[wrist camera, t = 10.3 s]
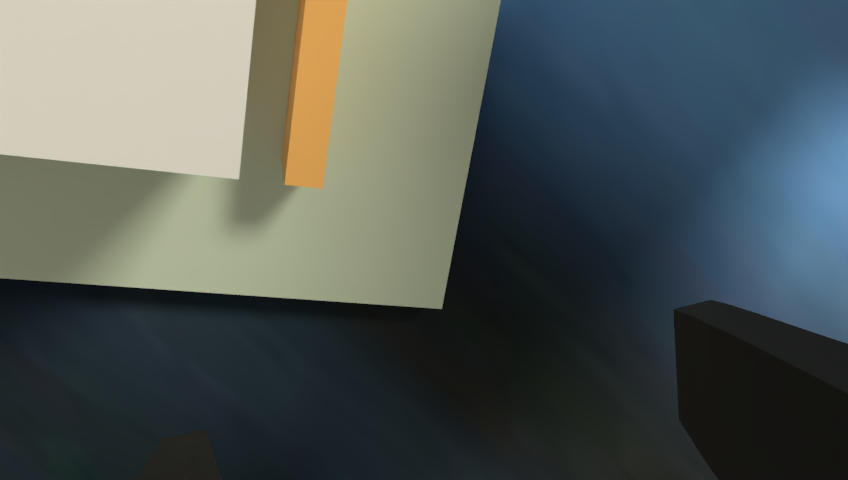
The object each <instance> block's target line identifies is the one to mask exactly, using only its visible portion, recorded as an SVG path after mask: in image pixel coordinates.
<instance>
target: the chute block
mask: <svg viewBox="0 0 848 480" xmlns="http://www.w3.org/2000/svg"><path fill="white" fill-rule="evenodd" d="M255 7H256V0H0V154H2V155H12V156H21V157H31V158H40V159H50V160H59V161H69V162H78V163H88V164H97V165H107V166H116V167H126V168H135V169H145V170H154V171H164V172H173V173H183V174H192V175H202V176H211V177H221V178H230V179H239V173H240V163H241V152H242V142H243V132H244V121H245V111H246V100H247V90H248V80H249V69H250V59H251V48H252V38H253V27H254V17H255Z"/></svg>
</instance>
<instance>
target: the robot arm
mask: <svg viewBox="0 0 848 480" xmlns="http://www.w3.org/2000/svg"><path fill="white" fill-rule="evenodd" d="M674 327H675V347H676V368H677V388H678V409H679V420H680V422H681V423H682V425H683V426H684V428H685V430H686V431H687V433H688V435H689V436H690V438H691V439H692V441H693V443H694V444H695V446H696V448H697V449H698V451H699V452H700V454H701V455H702V457H703V458H704V460H705V461H706V463H707V464H708V466H709V467H710V469H711V470H712V472H713V473H714V474H715V475H716V477H717V478H718V479H719V480H848V344H847V343H844V342H840V341H837V340H834V339H831V338H828V337H825V336H822V335H819V334H816V333H813V332H810V331H807V330H804V329H801V328H798V327H795V326H792V325H789V324H786V323H783V322H781V321H778V320H775V319H772V318H769V317H766V316H763V315H760V314H757V313H754V312H751V311H748V310H745V309H742V308H738V307H735V306H732V305H728V304H725V303H721V302H717V301H713V300H709V301H705V302H701V303H697V304H693V305H689V306H685V307H681V308H677V309H674ZM135 480H222V478H221V475H220V472H219V469H218V466H217V463H216V460H215V457H214V454H213V451H212V448H211V444H210V441H209V438H208V435H207V432H206V429H201V430H197V431H193V432H189V433H186V434H182V435H178V436H174V437H170V438H166V439H162V441H161V442H160V444H159V445H158V447H157V448H156V449H155V451H154V452H153V454H152V455H151V457H150V458H149V460H148V461H147V463H146V464H145V466H144V467H143V469H142V470H141V472H140V473H139V475H138V476H137V478H136V479H135Z"/></svg>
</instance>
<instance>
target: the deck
mask: <svg viewBox="0 0 848 480" xmlns="http://www.w3.org/2000/svg"><path fill="white" fill-rule="evenodd" d="M500 3H501V0H256V7H255V17H254V27H253V38H252V48H251V59H250V69H249V80H248V90H247V100H246V111H245V121H244V132H243V142H242V152H241V163H240V173H239V179H230V178H221V177H211V176H202V175H192V174H183V173H173V172H164V171H154V170H145V169H135V168H126V167H116V166H107V165H97V164H88V163H78V162H69V161H59V160H50V159H40V158H31V157H21V156H12V155H2V154H0V278H4V279H19V280H33V281H47V282H62V283H76V284H90V285H105V286H119V287H133V288H148V289H162V290H176V291H191V292H205V293H219V294H234V295H248V296H262V297H277V298H291V299H305V300H320V301H334V302H348V303H363V304H377V305H391V306H406V307H420V308H434V309H442V305H443V300H444V295H445V290H446V284H447V279H448V274H449V269H450V264H451V258H452V253H453V248H454V243H455V238H456V232H457V227H458V222H459V217H460V212H461V206H462V201H463V196H464V191H465V185H466V180H467V175H468V170H469V165H470V159H471V154H472V149H473V144H474V139H475V133H476V128H477V123H478V118H479V113H480V107H481V102H482V97H483V92H484V86H485V81H486V76H487V71H488V66H489V60H490V55H491V50H492V45H493V40H494V34H495V29H496V24H497V19H498V14H499V8H500Z"/></svg>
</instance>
